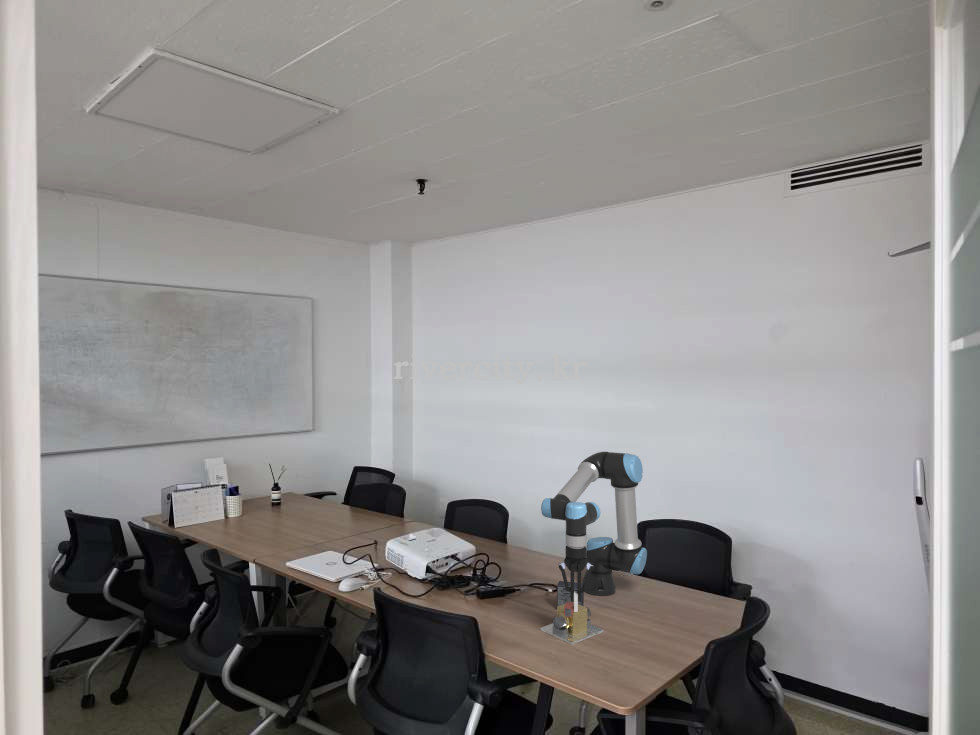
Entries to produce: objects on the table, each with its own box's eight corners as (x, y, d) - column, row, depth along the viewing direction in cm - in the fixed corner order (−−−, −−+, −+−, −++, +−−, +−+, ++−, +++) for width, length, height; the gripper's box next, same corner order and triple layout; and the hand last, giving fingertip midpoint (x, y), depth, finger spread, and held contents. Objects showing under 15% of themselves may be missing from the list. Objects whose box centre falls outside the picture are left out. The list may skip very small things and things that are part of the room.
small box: (584, 607, 261) (584, 582, 261) (582, 613, 255) (582, 587, 255) (558, 604, 264) (559, 579, 264) (556, 610, 258) (556, 584, 258)
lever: (567, 601, 240) (567, 593, 240) (578, 602, 239) (579, 594, 239) (561, 616, 225) (562, 607, 225) (574, 617, 224) (574, 608, 224)
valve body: (571, 618, 249) (572, 593, 249) (603, 631, 237) (604, 605, 237) (540, 630, 238) (540, 603, 238) (571, 644, 225) (572, 617, 225)
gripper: (592, 543, 231) (592, 607, 231) (557, 542, 232) (557, 606, 232) (594, 549, 224) (594, 615, 224) (558, 548, 225) (558, 613, 225)
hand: (575, 610), depth 228 cm, fingers closed
